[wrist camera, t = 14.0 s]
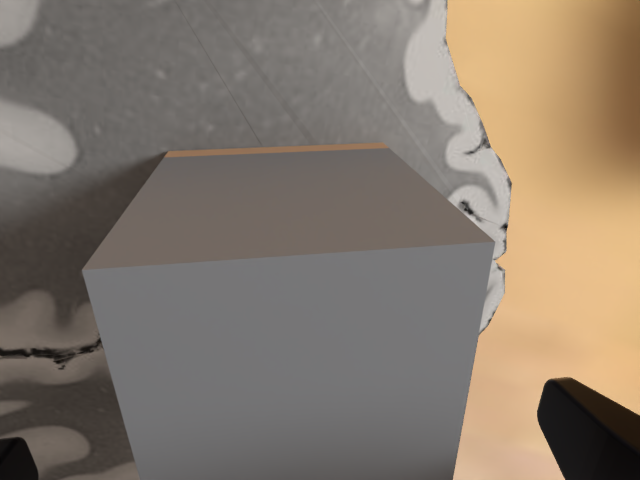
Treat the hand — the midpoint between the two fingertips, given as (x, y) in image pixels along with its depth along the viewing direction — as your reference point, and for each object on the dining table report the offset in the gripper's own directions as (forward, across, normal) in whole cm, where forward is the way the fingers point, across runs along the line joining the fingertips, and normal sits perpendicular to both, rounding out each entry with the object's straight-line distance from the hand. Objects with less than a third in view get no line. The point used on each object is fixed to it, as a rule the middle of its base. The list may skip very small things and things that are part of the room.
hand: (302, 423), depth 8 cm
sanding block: (+4, 0, 0) cm, 4 cm away
